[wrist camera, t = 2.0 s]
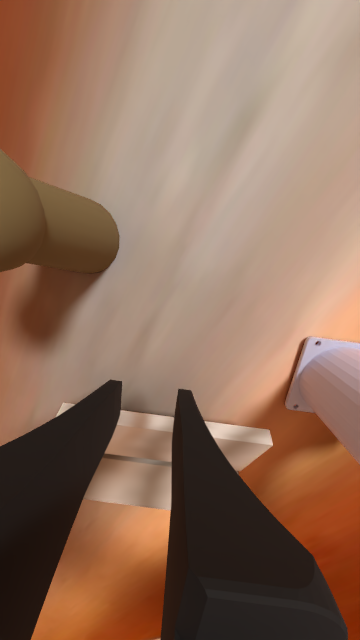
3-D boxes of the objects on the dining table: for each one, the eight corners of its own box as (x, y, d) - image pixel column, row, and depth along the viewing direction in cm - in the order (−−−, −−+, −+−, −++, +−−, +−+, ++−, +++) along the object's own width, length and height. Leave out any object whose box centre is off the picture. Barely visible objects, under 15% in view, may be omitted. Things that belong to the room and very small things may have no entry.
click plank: (269, 429, 17) (273, 445, 16) (238, 458, 23) (240, 471, 22) (63, 402, 17) (55, 416, 16) (85, 438, 23) (80, 450, 22)
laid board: (237, 461, 23) (240, 471, 22) (225, 506, 25) (227, 517, 24) (85, 441, 23) (80, 450, 22) (86, 488, 25) (81, 498, 24)
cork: (134, 243, 17) (43, 207, 6) (85, 287, 18) (-61, 320, 7) (83, 180, 16) (-133, 3, 5) (35, 231, 17) (-224, 175, 6)
